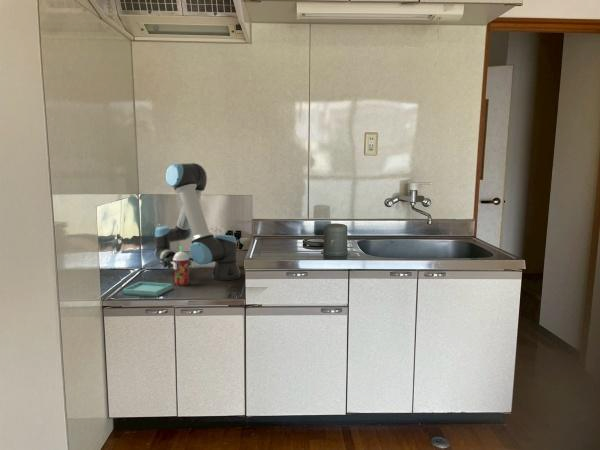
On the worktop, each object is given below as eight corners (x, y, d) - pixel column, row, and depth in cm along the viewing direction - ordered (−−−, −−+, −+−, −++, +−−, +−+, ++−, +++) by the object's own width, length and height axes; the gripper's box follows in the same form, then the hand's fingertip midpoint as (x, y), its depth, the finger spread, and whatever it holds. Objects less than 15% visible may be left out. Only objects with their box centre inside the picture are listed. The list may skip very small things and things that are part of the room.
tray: (172, 288, 226) (171, 283, 226) (156, 296, 213) (156, 291, 212) (140, 286, 231) (140, 281, 231) (123, 294, 217) (122, 289, 217)
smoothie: (193, 282, 237) (191, 244, 234) (186, 287, 229) (184, 247, 226) (178, 282, 238) (176, 244, 235) (171, 286, 230) (169, 247, 227)
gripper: (188, 261, 253) (204, 269, 235) (150, 267, 241) (164, 275, 223) (187, 248, 252) (204, 255, 233) (149, 253, 240) (163, 260, 222)
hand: (184, 265), depth 228 cm, fingers closed on smoothie, 8 cm apart
